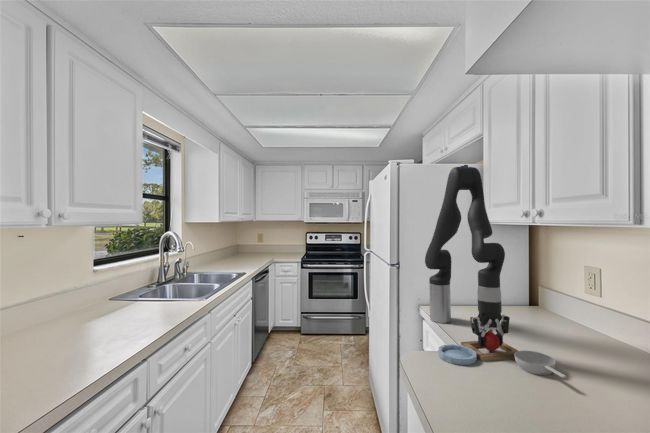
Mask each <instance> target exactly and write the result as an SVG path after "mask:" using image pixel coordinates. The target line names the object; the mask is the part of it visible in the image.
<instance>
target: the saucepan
mask: <svg viewBox="0 0 650 433" xmlns="http://www.w3.org/2000/svg"><path fill="white" fill-rule="evenodd" d="M514 355H515V362H516V364H517V366H518V367H519V368H520V369H521V370H522V371H525V372H526V373H530V374H533V375H538V376H548V375H551V374H552V373H554V374H555V375H557V376H559V377H560V378H562V379H567V375H565V374H563V373H561V372H560V371H558V370H557V369H555V368H556V360H555V359H554V358H553V357H551V356H549V355H547V354H544V353H541V352H538V351H531V350H518V351H517V352H515V354H514Z"/></svg>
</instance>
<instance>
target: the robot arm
mask: <svg viewBox="0 0 650 433" xmlns="http://www.w3.org/2000/svg"><path fill="white" fill-rule="evenodd" d="M447 176H448V177H447V181H446V187H445V192H444V197H443V202H442V205H441V209H440V211H439V214H438V216H437V217H438V218H437V221H436V225H435V229H434V232H433V234H432V238H431V241H430V243H429V245H428V248H427V250H426V253H425V258H424V264H425V267H426V268H427V269H429V270H438V272H437V273H435V274H434V275H431V276H430V277H429V279H428V280H429V282H428V283H429V319H430V321H432V322H433V323H439V324H447V323H450V322H452V309H451V308H452V306H451V279H452V255H451V253H450V251H449V250H448V249H442V248H443V247H444V246H445V245H446V244H447V243H448V242H449V241H450V240H451V239H452V238H453V237H454V236H455V235H456V234H457V233H458V231H459V227H460V225H461V222H462V213H461V211H460V209H459V206H458V203H457V199H458V194H459V192H460V191H469V192H470V195H471V202H470V206H469V208H468V211H467V223H468V227H469V230H470V233H471V255H472V257H473V260H475V262H477V263H479V264H480V263H481V264H487V263H488V264H487V266H486V267H485V268H481V269H479V270H478V271H477V310H478V315H477V316H476V317H473V316H470V320H469V321H470V325H471V332H472V333H473V334H475V336H477V341H478V344H479V345H480V346H481V347H480V348H485V337H484V335H485V333H486V332H488V331H489V329H491V328H493V329H494V331H495V335H497V337H498V338H499V341H500V346H502V344H503V342H504V337H503V336H504V335H505V334H508V333H509V328H510V316H507V315H505V314H502V311H503V310H502V309H503V307H502V306H503V305H502V290H501V272H502V270H503V266H504V262H505V259H506V258H505V257H506V252H505V248H504V247H503V245H502V244H500V243H498V242H486V243H485V241H484V239H487V238H490V237H491V236H492V235H493V229H492V226H491V222H490V220H489V216H488V213H487V209H486V203H485V195H484V194H485V193H484V188H483V180H482V174H481V172H480V171H479V169H478V168H477V167H473V166H455V167H452V169H451V170H450V172H449V174H448V175H447Z"/></svg>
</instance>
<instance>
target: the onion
mask: <svg viewBox="0 0 650 433" xmlns="http://www.w3.org/2000/svg"><path fill="white" fill-rule="evenodd" d="M484 337H485V347H484V349H486V350H487V351H488V352H489V353H494V351H496V350H498V349H500V348H499V346H500V341H499V338H498V337H497V335H496V333H494V332H493V329H488V330H487V331H486V333H485V335H484Z"/></svg>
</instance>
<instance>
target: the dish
mask: <svg viewBox="0 0 650 433" xmlns="http://www.w3.org/2000/svg"><path fill="white" fill-rule="evenodd" d="M438 357H439V358H440V359H441V360H442V361H444V362H445V363H448V364H451V365H458V366H471V365H473V364H475V363H476V362H477V359H478V358H477V355H476V352H475V351H474V350H472V349H471V348H468V347H465V346H462V345H461V344H453V343H451V344H443V345H440V346H439V347H438Z"/></svg>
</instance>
